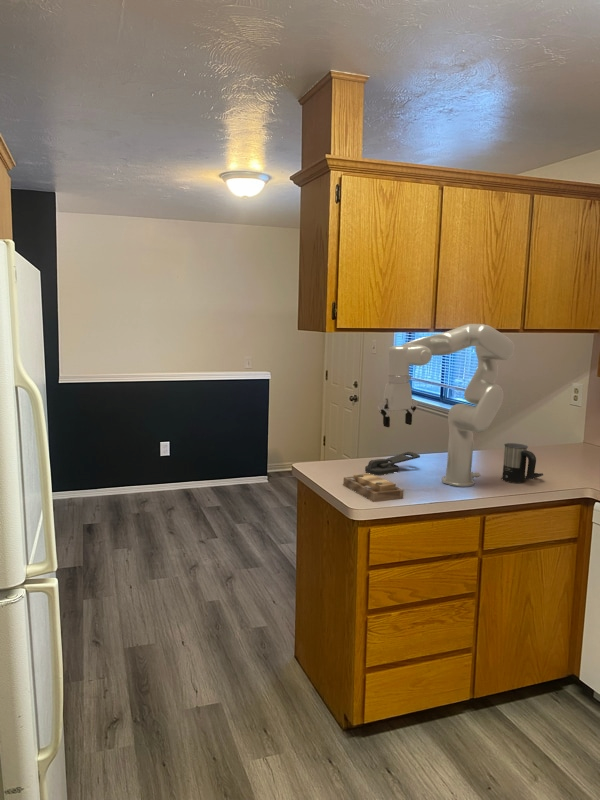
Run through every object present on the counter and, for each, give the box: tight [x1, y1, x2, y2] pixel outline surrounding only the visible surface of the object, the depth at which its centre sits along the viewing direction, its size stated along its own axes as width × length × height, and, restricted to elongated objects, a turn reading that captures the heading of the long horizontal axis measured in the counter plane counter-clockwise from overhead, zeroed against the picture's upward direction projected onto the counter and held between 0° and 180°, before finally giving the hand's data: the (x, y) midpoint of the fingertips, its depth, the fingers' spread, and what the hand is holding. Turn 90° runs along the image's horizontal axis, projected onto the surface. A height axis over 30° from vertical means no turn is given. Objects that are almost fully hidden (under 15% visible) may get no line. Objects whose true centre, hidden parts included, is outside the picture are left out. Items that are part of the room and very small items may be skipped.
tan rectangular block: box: [352, 472, 397, 492], centre depth 222 cm, size 16×7×4 cm, turn 32°
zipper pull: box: [364, 451, 421, 476], centre depth 255 cm, size 9×7×25 cm
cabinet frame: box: [343, 476, 405, 503], centre depth 223 cm, size 22×12×4 cm, turn 25°
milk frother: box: [501, 442, 544, 484], centre depth 247 cm, size 14×16×15 cm
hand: (397, 425), depth 223 cm, fingers open, 9 cm apart
